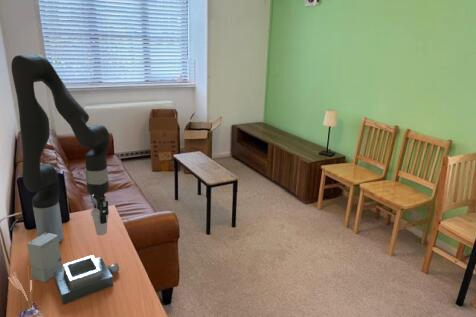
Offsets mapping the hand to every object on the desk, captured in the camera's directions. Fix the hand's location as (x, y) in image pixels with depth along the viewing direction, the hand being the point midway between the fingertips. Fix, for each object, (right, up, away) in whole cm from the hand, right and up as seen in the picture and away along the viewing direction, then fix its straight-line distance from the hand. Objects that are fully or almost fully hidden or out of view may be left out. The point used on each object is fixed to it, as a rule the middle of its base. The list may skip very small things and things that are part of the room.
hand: (100, 218), depth 130 cm
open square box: (0, -21, -9) cm, 23 cm away
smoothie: (0, -6, +2) cm, 6 cm away
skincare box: (-16, -19, -7) cm, 26 cm away
